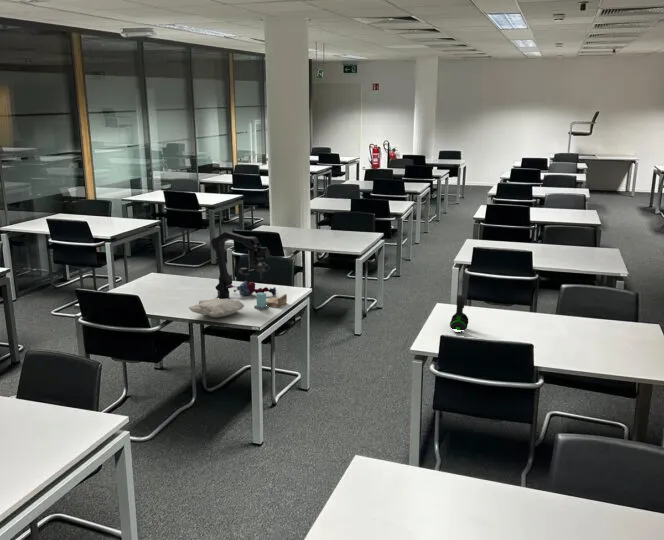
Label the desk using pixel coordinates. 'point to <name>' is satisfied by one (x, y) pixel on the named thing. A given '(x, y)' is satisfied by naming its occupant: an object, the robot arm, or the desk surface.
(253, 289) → the toy
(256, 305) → the gray block
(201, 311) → the decorative stone
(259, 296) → the teal block
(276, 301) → the tan piece
